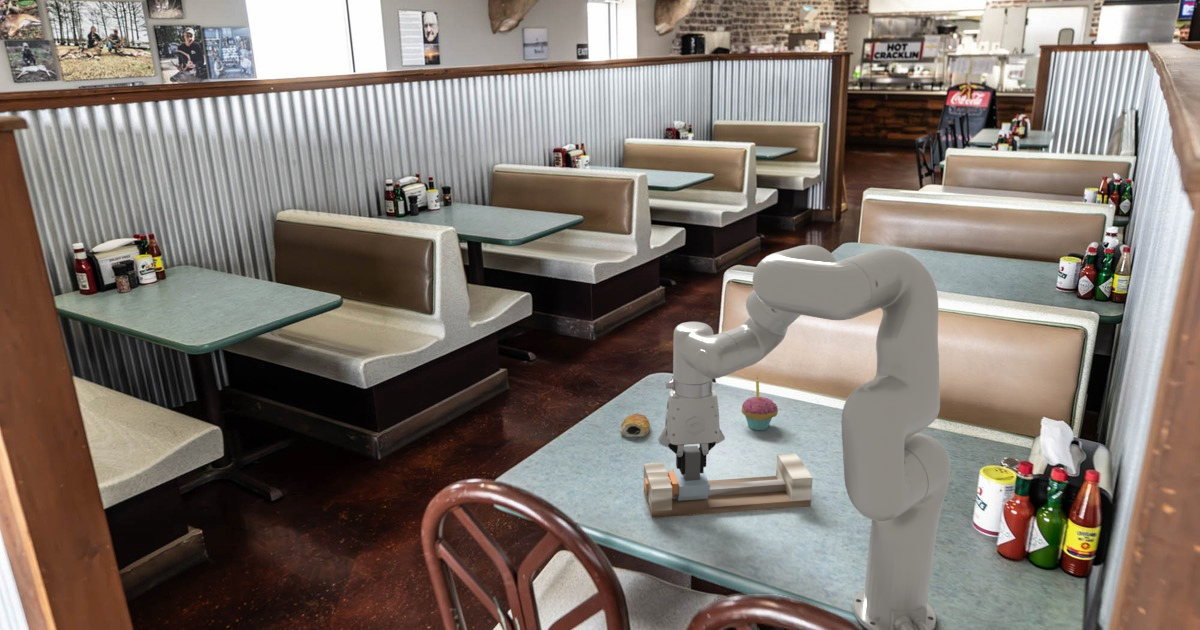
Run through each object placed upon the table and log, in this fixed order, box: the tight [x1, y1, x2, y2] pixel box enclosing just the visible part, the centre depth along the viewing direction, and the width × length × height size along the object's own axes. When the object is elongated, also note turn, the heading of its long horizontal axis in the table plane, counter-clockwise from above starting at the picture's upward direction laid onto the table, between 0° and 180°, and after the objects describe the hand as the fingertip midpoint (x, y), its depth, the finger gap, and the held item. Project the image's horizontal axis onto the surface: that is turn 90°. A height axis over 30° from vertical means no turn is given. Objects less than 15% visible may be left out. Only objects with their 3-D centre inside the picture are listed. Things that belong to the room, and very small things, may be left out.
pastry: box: [619, 413, 651, 438], centre depth 196 cm, size 9×7×4 cm
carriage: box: [672, 445, 710, 501], centre depth 163 cm, size 7×6×10 cm
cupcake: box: [741, 376, 779, 431], centre depth 195 cm, size 9×8×12 cm
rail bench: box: [643, 452, 814, 519], centre depth 165 cm, size 10×32×6 cm, turn 96°
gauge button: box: [645, 470, 679, 495], centre depth 164 cm, size 5×6×2 cm
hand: (691, 469), depth 163 cm, fingers closed on carriage, 3 cm apart
